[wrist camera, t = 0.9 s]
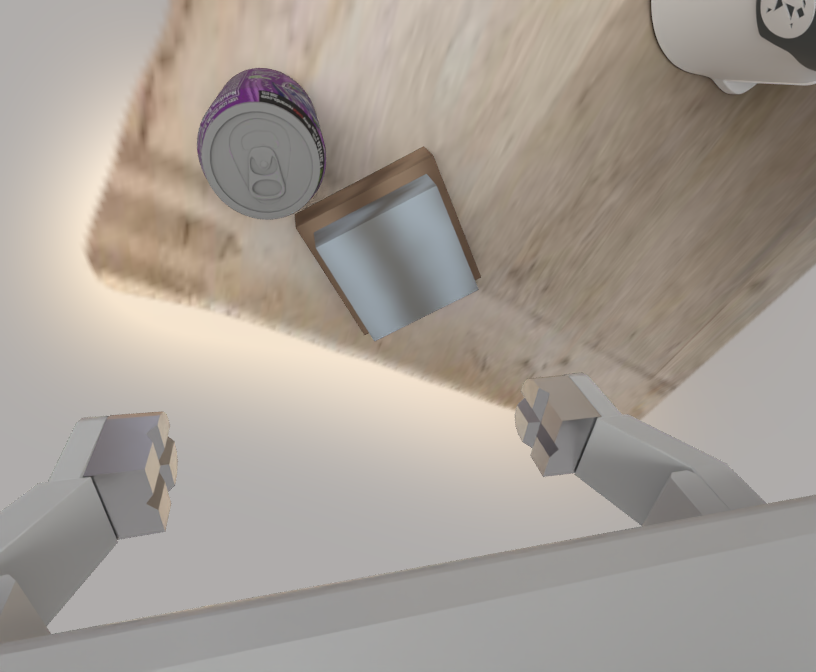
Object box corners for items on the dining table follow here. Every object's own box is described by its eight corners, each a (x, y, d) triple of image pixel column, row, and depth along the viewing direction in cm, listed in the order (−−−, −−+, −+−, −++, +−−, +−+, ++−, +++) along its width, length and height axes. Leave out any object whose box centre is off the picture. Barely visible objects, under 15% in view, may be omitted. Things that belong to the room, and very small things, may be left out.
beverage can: (321, 167, 38) (334, 223, 28) (228, 172, 37) (209, 231, 27) (311, 66, 34) (322, 90, 24) (206, 67, 33) (175, 93, 23)
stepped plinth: (423, 146, 39) (444, 166, 34) (470, 262, 46) (492, 293, 41) (295, 214, 40) (296, 243, 35) (360, 318, 47) (369, 354, 42)
